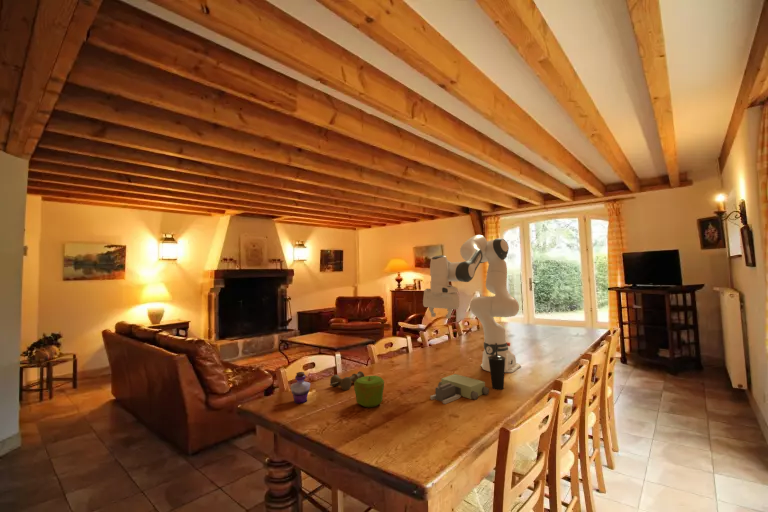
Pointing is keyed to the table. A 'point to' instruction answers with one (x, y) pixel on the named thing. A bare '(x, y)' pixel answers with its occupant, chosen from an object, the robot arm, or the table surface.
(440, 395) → the dark grey block
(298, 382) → the potion bottle
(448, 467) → the table surface
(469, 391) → the green block with prongs
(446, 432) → the table surface
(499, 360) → the drinking cup
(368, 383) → the apple
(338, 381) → the kendama
